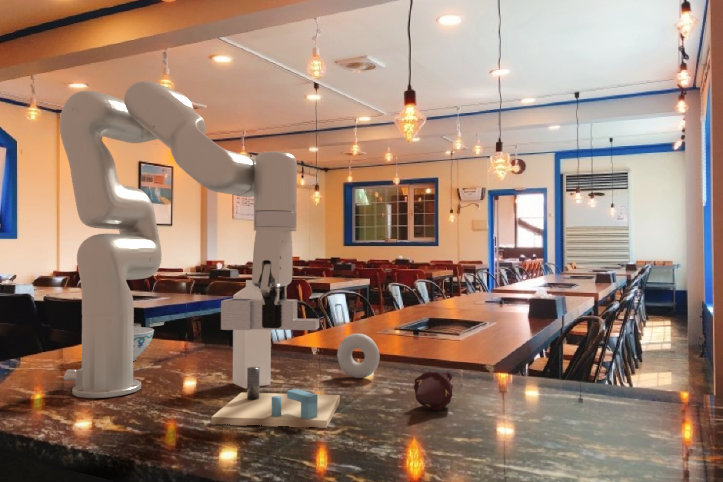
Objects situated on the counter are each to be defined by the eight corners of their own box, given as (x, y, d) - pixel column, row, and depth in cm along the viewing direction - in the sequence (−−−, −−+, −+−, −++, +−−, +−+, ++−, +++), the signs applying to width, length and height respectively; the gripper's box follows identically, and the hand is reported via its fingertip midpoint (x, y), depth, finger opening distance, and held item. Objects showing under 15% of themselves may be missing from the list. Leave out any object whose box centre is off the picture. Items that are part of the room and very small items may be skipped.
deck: (211, 424, 92) (211, 416, 92) (241, 398, 108) (241, 392, 108) (326, 428, 90) (326, 420, 90) (339, 401, 106) (339, 395, 106)
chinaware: (139, 367, 137) (139, 335, 137) (78, 366, 137) (78, 335, 137) (162, 355, 152) (162, 327, 152) (106, 355, 152) (107, 326, 152)
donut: (334, 377, 126) (334, 333, 126) (340, 374, 129) (341, 331, 130) (376, 381, 122) (376, 335, 123) (381, 378, 126) (382, 333, 126)
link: (221, 329, 98) (221, 300, 99) (231, 325, 104) (231, 298, 104) (314, 331, 96) (314, 301, 96) (320, 327, 102) (320, 299, 102)
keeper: (269, 422, 93) (269, 393, 93) (294, 416, 97) (294, 388, 97) (292, 431, 89) (292, 400, 89) (317, 424, 92) (317, 394, 92)
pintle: (245, 399, 103) (245, 368, 103) (249, 396, 105) (249, 366, 105) (257, 400, 102) (257, 369, 103) (260, 397, 105) (260, 366, 105)
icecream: (442, 384, 93) (470, 375, 106) (403, 368, 97) (434, 361, 110) (431, 424, 93) (460, 410, 107) (392, 407, 97) (425, 395, 110)
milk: (244, 389, 116) (244, 281, 116) (232, 383, 121) (232, 280, 121) (271, 384, 120) (271, 280, 120) (258, 379, 124) (258, 279, 125)
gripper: (268, 224, 109) (267, 320, 109) (239, 220, 93) (238, 332, 92) (306, 224, 108) (305, 321, 108) (283, 220, 92) (282, 333, 91)
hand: (274, 325), depth 100 cm, fingers closed on link, 3 cm apart
